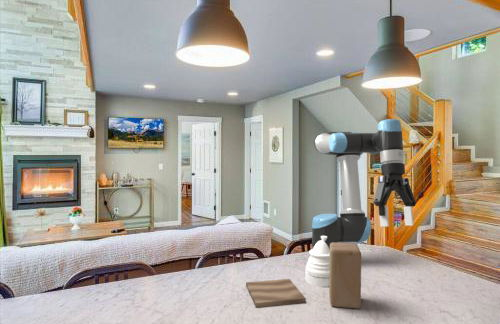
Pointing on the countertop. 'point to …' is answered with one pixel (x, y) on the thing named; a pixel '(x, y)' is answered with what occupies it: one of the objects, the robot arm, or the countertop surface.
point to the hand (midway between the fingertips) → (397, 225)
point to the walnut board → (274, 293)
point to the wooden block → (345, 275)
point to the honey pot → (318, 264)
